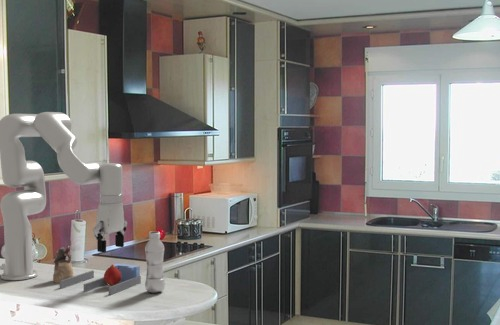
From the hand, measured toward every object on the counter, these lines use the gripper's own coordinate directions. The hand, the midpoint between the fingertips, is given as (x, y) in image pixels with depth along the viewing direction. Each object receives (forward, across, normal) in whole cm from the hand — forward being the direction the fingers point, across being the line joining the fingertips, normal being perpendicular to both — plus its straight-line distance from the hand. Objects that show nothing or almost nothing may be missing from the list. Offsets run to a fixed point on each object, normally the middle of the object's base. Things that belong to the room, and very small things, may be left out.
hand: (110, 249), depth 208 cm
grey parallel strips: (+13, 0, -4) cm, 14 cm away
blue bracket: (+13, -8, +1) cm, 15 cm away
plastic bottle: (+13, 0, +18) cm, 22 cm away
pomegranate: (+13, 0, +1) cm, 13 cm away
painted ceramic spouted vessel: (+14, 0, -21) cm, 25 cm away
